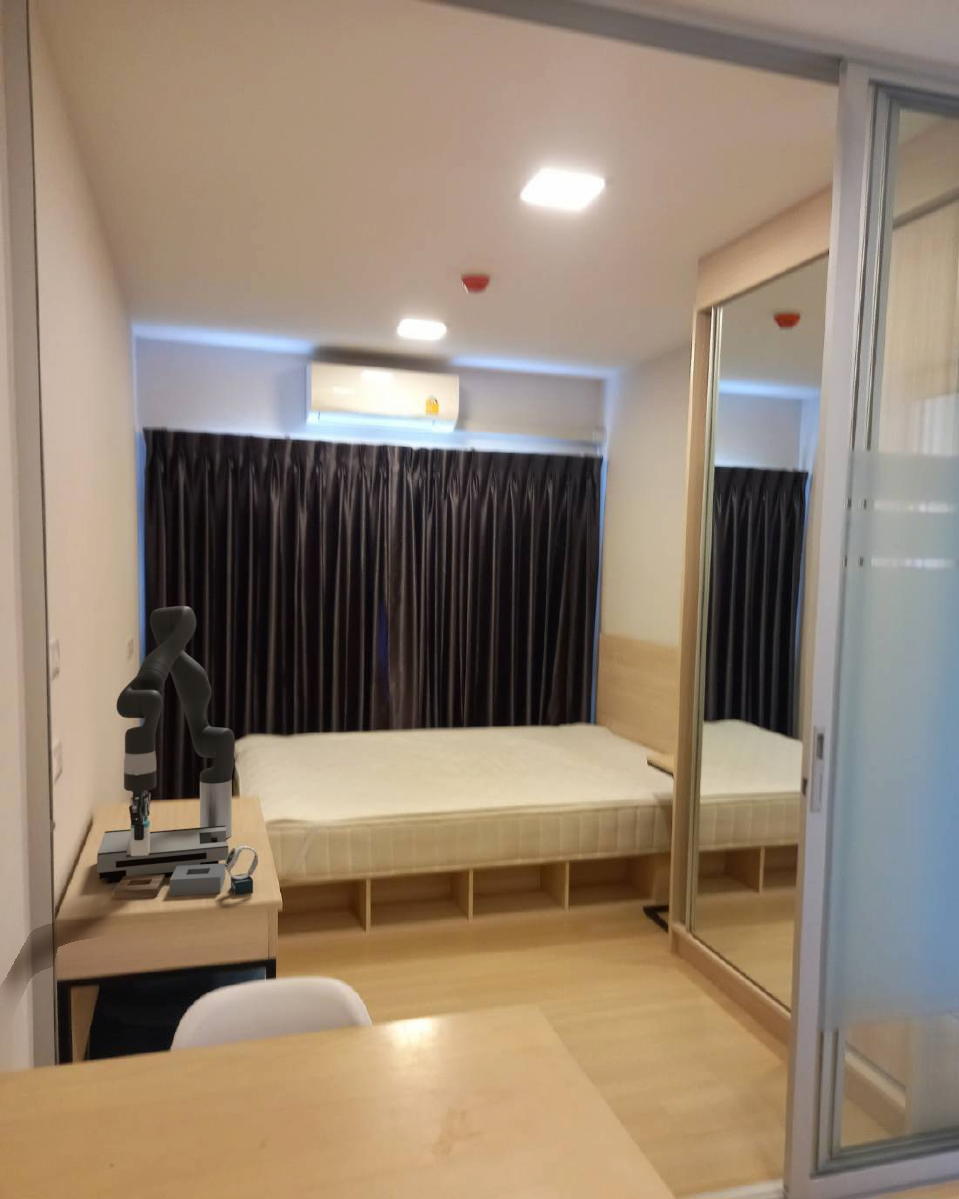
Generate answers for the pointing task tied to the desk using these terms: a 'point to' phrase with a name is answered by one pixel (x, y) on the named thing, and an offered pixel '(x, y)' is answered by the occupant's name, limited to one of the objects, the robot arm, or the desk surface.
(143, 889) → the brown flat square frame
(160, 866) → the game console
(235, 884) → the watch
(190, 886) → the port block
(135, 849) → the plug
